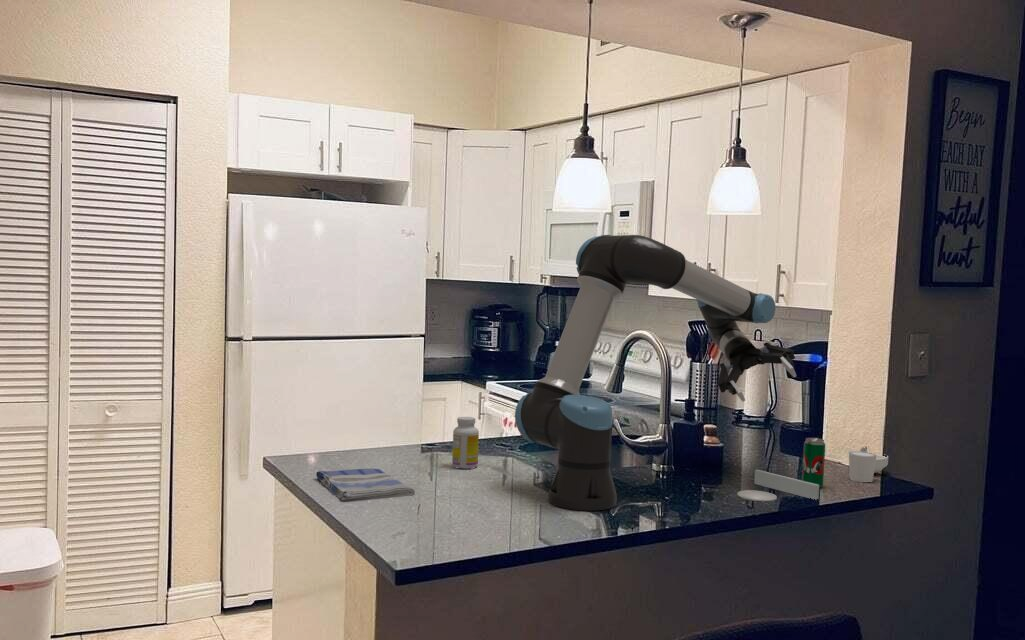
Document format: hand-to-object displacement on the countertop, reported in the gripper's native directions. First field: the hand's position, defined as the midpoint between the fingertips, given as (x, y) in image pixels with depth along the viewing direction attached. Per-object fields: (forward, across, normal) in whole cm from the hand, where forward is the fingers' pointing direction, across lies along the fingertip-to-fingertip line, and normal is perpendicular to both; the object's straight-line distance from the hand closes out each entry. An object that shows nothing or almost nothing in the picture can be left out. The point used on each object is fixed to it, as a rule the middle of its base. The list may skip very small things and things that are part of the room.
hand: (767, 384), depth 213 cm
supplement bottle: (-14, +78, +8) cm, 79 cm away
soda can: (+4, 0, -30) cm, 31 cm away
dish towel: (+7, +96, +26) cm, 100 cm away
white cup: (-3, -13, -41) cm, 43 cm away
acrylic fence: (+9, +7, -24) cm, 27 cm away
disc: (+14, +15, -18) cm, 27 cm away
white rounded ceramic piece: (-12, -18, -47) cm, 52 cm away
